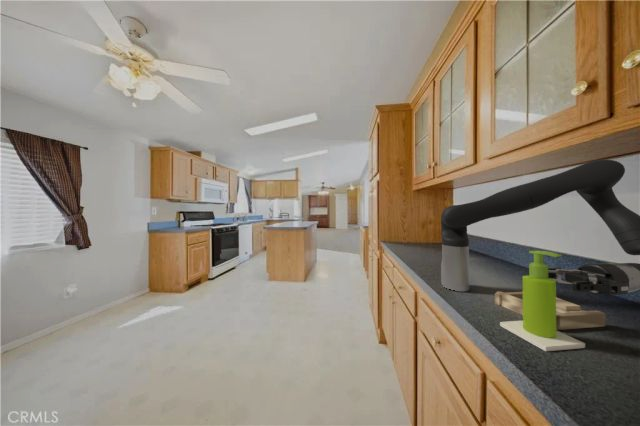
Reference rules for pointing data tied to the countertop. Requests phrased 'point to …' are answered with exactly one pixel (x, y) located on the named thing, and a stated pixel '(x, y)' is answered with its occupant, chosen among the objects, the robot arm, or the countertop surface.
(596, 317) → the pine rack
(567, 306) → the offcut stack
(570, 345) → the cream tile
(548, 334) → the soap dispenser
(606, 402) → the countertop surface
